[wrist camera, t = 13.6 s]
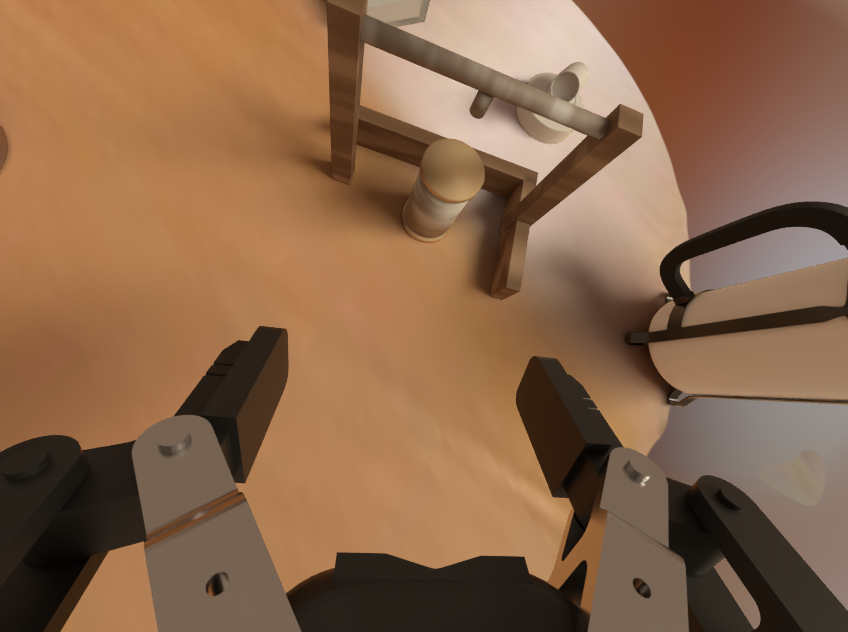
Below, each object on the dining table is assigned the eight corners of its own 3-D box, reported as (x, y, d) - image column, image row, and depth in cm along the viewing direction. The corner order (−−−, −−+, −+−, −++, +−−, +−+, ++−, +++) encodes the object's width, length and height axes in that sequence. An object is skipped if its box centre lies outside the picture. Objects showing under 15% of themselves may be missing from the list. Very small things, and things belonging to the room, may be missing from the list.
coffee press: (716, 301, 48) (1267, 186, 20) (714, 416, 44) (1393, 482, 16) (612, 267, 45) (1095, 67, 16) (602, 388, 41) (1204, 406, 13)
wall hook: (539, 52, 36) (583, 5, 39) (498, 118, 45) (536, 77, 48) (600, 108, 36) (638, 58, 39) (547, 162, 45) (581, 118, 48)
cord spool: (392, 205, 39) (410, 148, 29) (436, 189, 41) (466, 131, 31) (415, 250, 39) (441, 207, 29) (458, 232, 40) (495, 186, 31)
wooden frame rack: (503, 300, 40) (634, 237, 22) (311, 244, 36) (285, 111, 18) (521, 191, 44) (647, 62, 26) (347, 128, 39) (356, -78, 22)
